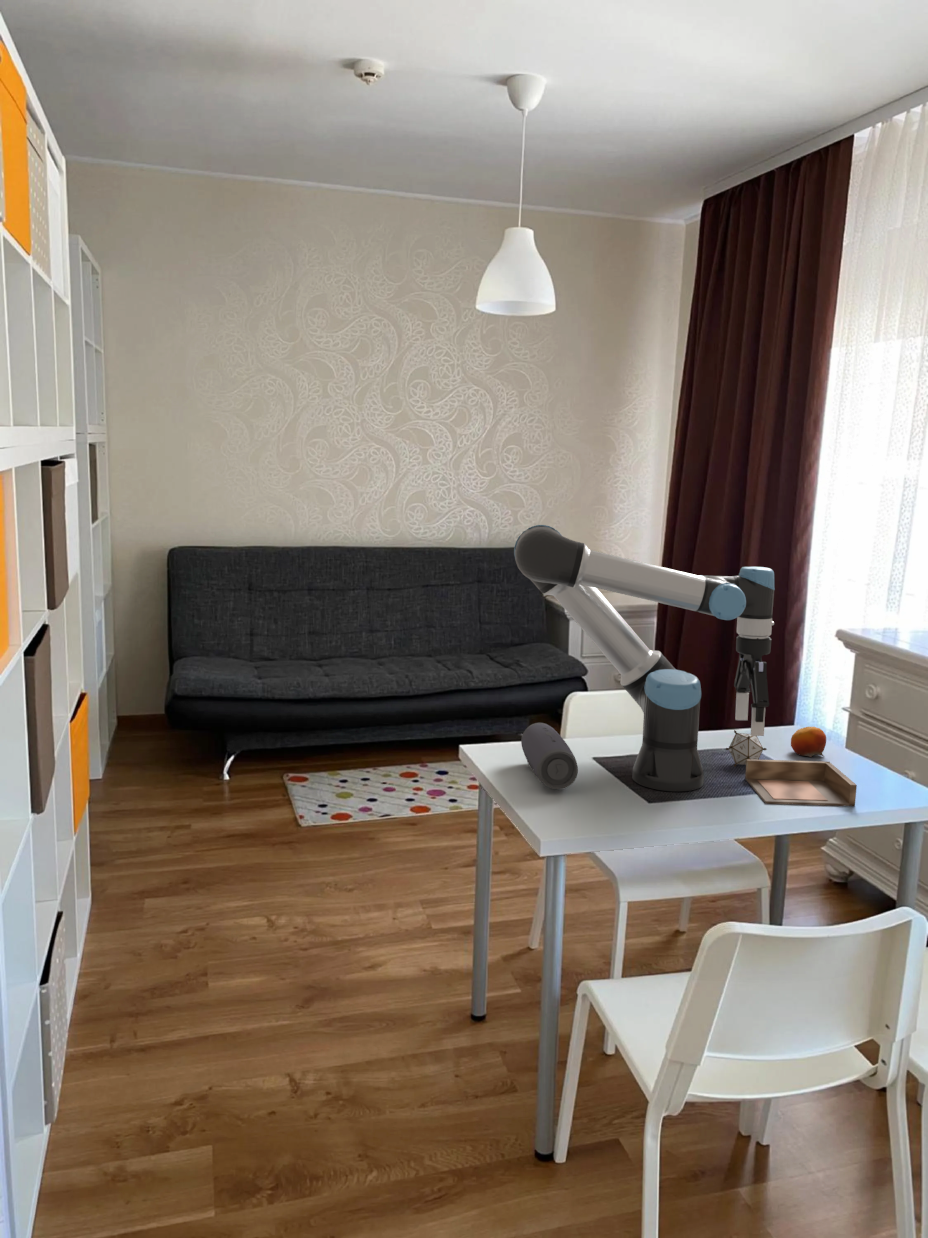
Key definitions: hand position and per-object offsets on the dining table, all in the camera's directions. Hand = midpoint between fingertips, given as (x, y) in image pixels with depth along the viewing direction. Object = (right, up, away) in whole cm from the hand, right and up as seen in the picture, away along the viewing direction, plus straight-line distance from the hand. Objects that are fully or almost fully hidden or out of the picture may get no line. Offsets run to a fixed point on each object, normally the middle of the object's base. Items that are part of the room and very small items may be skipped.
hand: (749, 727), depth 221 cm
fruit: (+18, -8, +12) cm, 23 cm away
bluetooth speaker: (-47, -10, -11) cm, 49 cm away
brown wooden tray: (+5, -12, -17) cm, 21 cm away
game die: (-1, -9, +1) cm, 9 cm away
